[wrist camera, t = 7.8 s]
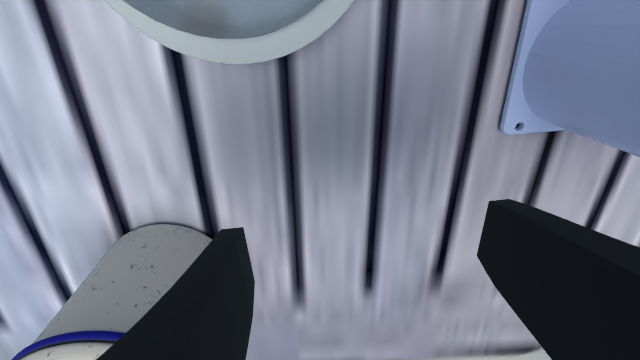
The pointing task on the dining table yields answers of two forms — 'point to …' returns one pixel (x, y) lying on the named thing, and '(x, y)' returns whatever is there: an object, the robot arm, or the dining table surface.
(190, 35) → the pot
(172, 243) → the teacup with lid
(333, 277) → the dining table surface
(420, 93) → the dining table surface
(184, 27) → the lid
